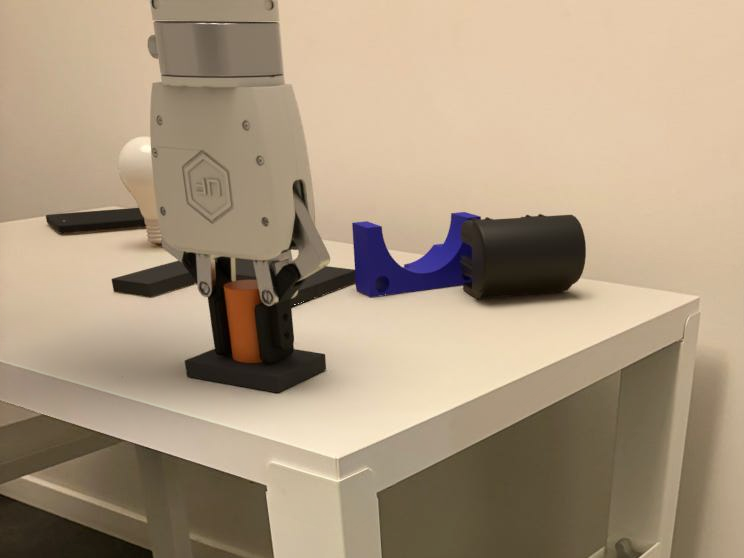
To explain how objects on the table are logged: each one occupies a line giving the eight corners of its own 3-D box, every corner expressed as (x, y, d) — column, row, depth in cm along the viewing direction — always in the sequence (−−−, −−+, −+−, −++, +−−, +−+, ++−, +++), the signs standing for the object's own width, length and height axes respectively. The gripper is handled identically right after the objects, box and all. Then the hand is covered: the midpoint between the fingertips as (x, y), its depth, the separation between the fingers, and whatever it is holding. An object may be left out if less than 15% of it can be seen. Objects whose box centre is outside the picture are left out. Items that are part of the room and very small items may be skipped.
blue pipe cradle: (456, 273, 99) (456, 209, 96) (480, 282, 96) (480, 216, 93) (349, 287, 94) (345, 220, 91) (370, 297, 91) (366, 228, 88)
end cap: (484, 307, 88) (485, 226, 84) (456, 289, 93) (456, 213, 90) (584, 298, 91) (589, 219, 87) (551, 281, 97) (555, 207, 93)
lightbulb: (121, 245, 110) (102, 135, 105) (173, 238, 114) (157, 132, 108) (148, 253, 106) (129, 140, 101) (200, 246, 110) (185, 136, 104)
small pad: (186, 376, 70) (172, 287, 67) (238, 355, 75) (228, 270, 72) (278, 393, 68) (268, 300, 64) (326, 369, 72) (320, 282, 69)
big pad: (113, 292, 92) (111, 278, 91) (210, 264, 102) (208, 251, 102) (271, 314, 85) (270, 300, 85) (357, 282, 96) (356, 269, 95)
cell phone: (211, 221, 123) (210, 213, 122) (60, 234, 115) (58, 225, 114) (190, 211, 129) (188, 203, 128) (45, 222, 121) (44, 214, 121)
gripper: (76, 56, 61) (130, 353, 71) (296, 63, 55) (322, 386, 65) (159, 53, 67) (198, 328, 76) (366, 59, 61) (380, 356, 70)
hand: (254, 352), depth 70 cm, fingers closed on small pad, 3 cm apart
